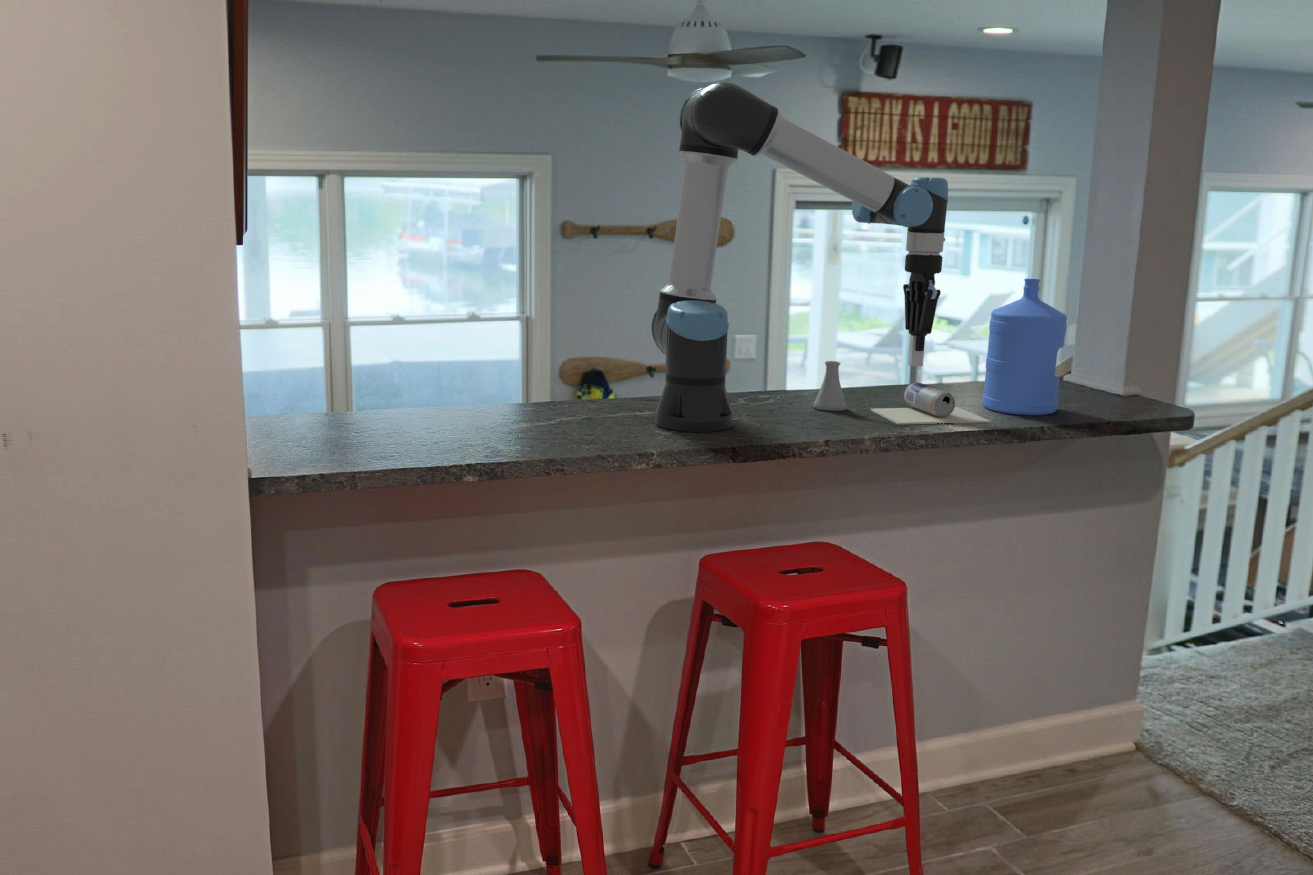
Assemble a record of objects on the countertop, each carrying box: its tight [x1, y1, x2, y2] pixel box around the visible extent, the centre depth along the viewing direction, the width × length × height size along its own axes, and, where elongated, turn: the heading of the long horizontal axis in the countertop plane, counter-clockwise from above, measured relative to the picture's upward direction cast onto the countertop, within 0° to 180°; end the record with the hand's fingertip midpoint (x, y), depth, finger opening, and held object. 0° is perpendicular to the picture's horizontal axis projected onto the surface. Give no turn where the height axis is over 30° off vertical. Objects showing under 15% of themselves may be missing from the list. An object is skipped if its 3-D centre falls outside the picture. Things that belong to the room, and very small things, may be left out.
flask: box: [812, 360, 848, 412], centre depth 234 cm, size 7×7×10 cm
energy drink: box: [903, 381, 956, 417], centre depth 231 cm, size 5×5×12 cm
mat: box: [870, 406, 991, 426], centre depth 229 cm, size 20×14×1 cm
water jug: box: [981, 278, 1068, 416], centre depth 237 cm, size 16×16×28 cm
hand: (915, 365), depth 235 cm, fingers closed
